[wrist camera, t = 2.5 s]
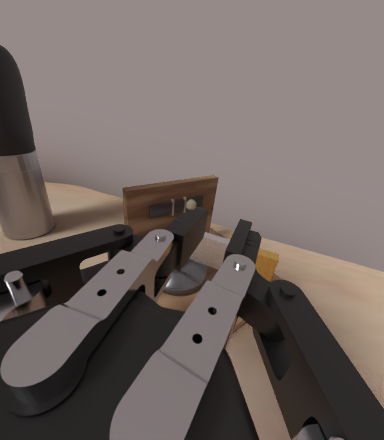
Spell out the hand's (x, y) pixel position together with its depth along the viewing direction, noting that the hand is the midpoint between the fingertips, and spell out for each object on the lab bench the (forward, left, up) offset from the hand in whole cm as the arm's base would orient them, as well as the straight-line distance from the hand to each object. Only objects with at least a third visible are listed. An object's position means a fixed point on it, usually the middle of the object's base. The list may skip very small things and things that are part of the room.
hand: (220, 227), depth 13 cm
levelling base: (-13, +13, -22) cm, 28 cm away
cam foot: (-11, +11, -20) cm, 25 cm away
